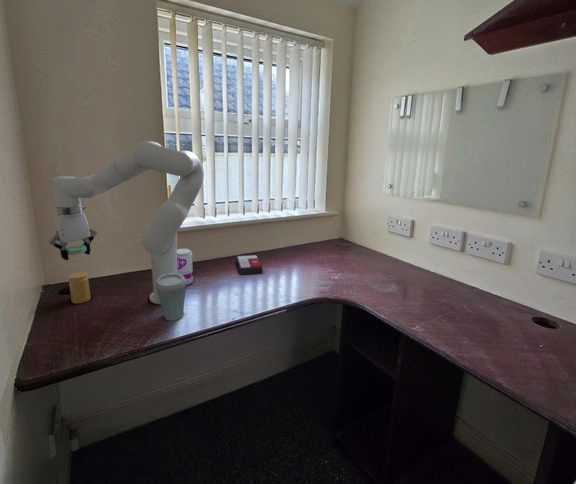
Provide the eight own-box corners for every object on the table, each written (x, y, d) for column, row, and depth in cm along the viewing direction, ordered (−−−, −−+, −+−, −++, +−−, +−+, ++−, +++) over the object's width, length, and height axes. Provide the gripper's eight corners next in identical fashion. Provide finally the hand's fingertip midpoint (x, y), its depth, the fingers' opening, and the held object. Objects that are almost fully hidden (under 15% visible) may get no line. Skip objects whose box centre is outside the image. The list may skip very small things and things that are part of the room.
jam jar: (92, 299, 124) (89, 275, 122) (73, 305, 120) (70, 279, 117) (87, 294, 129) (84, 270, 126) (69, 299, 124) (65, 274, 121)
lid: (63, 251, 119) (62, 247, 119) (83, 247, 124) (82, 243, 124) (67, 256, 115) (67, 252, 114) (89, 251, 120) (88, 247, 119)
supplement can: (187, 287, 138) (186, 255, 134) (170, 285, 140) (168, 252, 136) (196, 279, 146) (195, 249, 142) (179, 277, 147) (178, 247, 143)
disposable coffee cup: (192, 318, 114) (190, 280, 110) (161, 327, 108) (158, 287, 104) (183, 306, 123) (181, 269, 119) (153, 313, 117) (150, 275, 113)
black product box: (240, 267, 153) (236, 255, 166) (239, 275, 154) (236, 262, 168) (262, 265, 156) (257, 254, 169) (262, 273, 157) (256, 261, 171)
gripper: (89, 205, 124) (95, 248, 129) (37, 213, 110) (45, 261, 115) (99, 208, 120) (105, 252, 125) (46, 216, 106) (54, 265, 111)
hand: (76, 256), depth 120 cm, fingers closed on lid, 6 cm apart
